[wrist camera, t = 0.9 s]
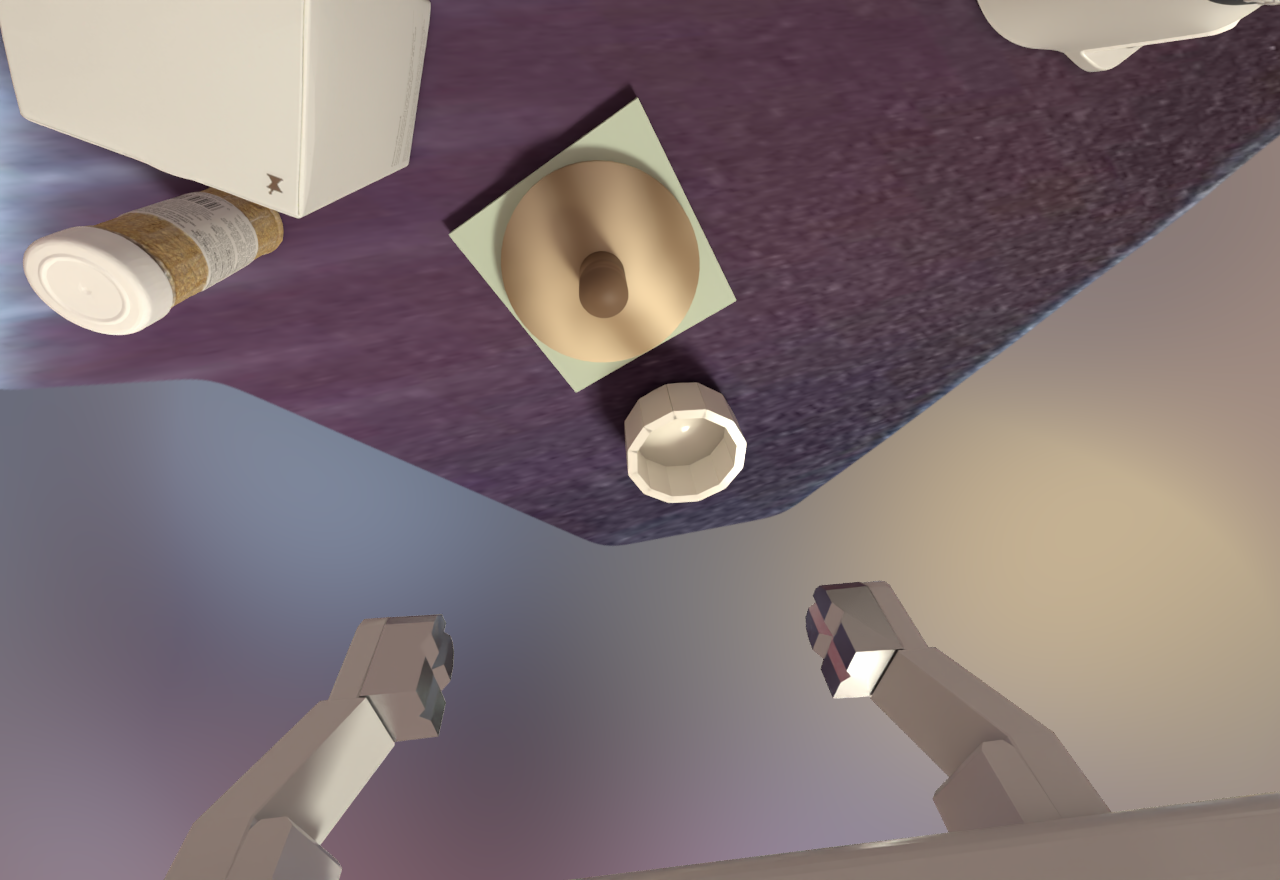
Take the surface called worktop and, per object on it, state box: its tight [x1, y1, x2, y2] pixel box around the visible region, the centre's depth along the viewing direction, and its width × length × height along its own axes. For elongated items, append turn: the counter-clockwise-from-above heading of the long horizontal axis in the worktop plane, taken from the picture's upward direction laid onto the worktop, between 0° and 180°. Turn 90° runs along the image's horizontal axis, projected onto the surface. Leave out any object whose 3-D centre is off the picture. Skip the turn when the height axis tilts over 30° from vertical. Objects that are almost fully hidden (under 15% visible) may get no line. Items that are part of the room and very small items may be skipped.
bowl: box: [624, 382, 746, 503], centre depth 44 cm, size 10×10×5 cm
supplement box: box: [0, 0, 431, 218], centre depth 22 cm, size 9×9×15 cm
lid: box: [501, 160, 700, 362], centre depth 34 cm, size 14×14×5 cm
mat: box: [449, 97, 736, 392], centre depth 36 cm, size 15×15×1 cm
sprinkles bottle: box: [23, 187, 283, 335], centre depth 27 cm, size 5×5×14 cm
